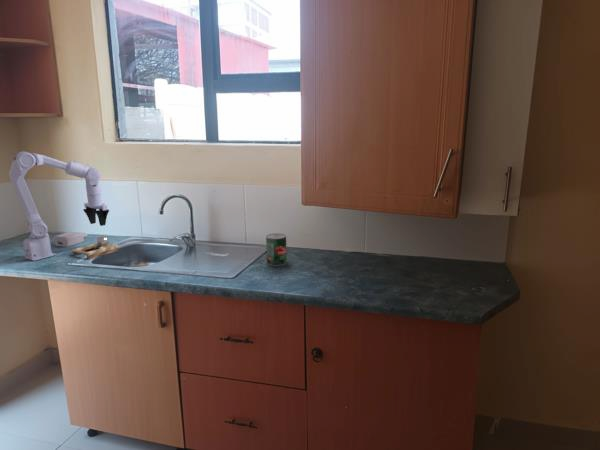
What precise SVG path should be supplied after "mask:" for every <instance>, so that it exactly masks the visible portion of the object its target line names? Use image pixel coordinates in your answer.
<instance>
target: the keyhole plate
mask: <svg viewBox="0 0 600 450" xmlns="http://www.w3.org/2000/svg"><path fill="white" fill-rule="evenodd" d="M71 250H72V251H71V252H72V256H78V255H84V256H86V259H87V260H91V259H96V258H99V257H103V256H106V255H110V254H112V253H116V252H120V251H119V245H117V244H113V243H109V242H108V244H106V246H104V247H101V245H98V244H97V242H96V243H92V244H90V245H89V244H88V245H85V246H82V247H80V246H79V247H78V248H73V249H71Z"/></svg>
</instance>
